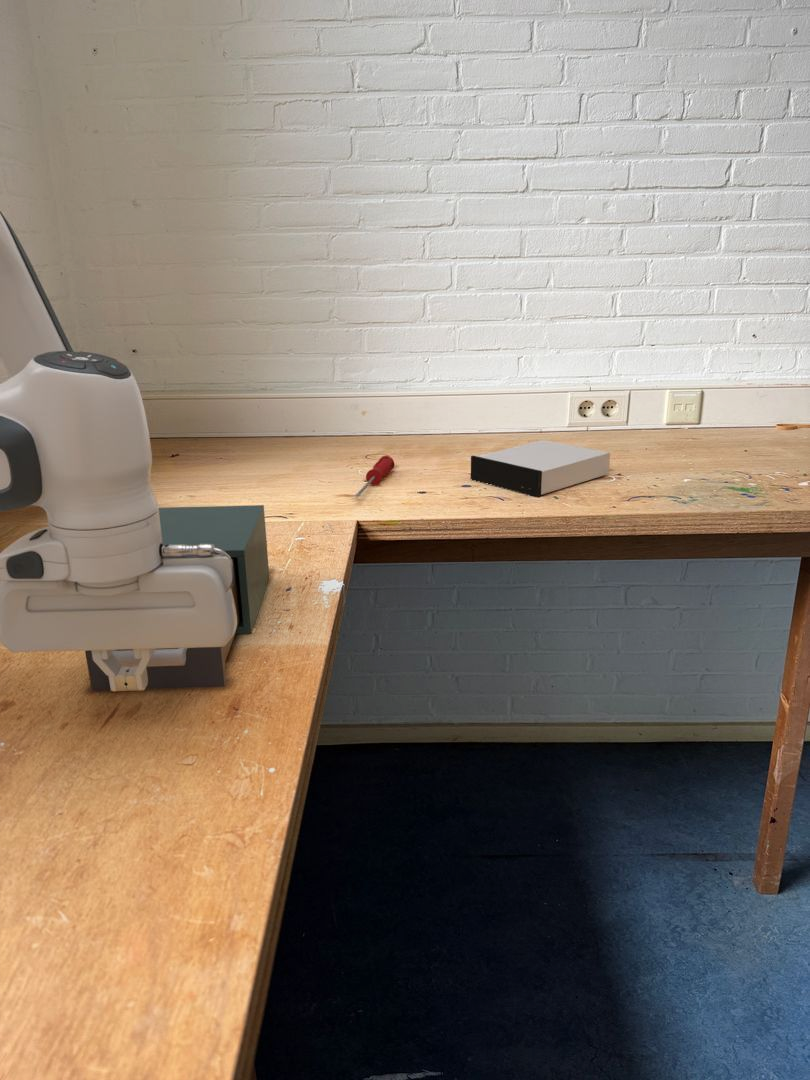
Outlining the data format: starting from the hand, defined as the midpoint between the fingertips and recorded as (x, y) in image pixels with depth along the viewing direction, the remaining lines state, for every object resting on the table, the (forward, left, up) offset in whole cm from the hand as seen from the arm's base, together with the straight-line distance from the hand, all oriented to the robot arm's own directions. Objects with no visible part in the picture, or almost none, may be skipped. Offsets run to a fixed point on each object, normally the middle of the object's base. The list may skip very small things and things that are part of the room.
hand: (130, 687), depth 73 cm
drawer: (0, +14, -5) cm, 15 cm away
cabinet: (0, +31, -6) cm, 32 cm away
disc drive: (+56, +90, -6) cm, 106 cm away
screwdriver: (+22, +86, -6) cm, 89 cm away
